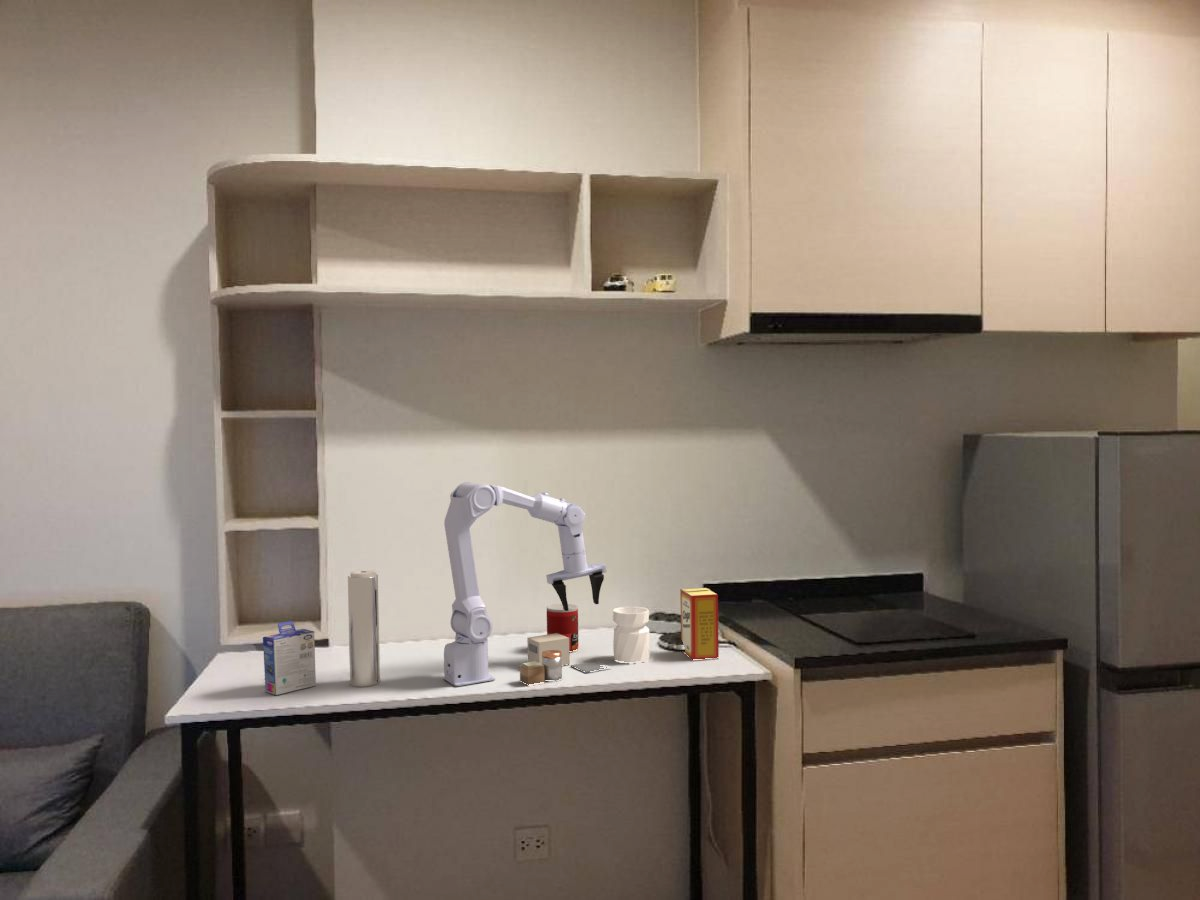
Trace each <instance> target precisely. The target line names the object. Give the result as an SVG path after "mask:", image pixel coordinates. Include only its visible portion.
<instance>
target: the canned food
mask: <svg viewBox="0 0 1200 900" xmlns="http://www.w3.org/2000/svg"><path fill="white" fill-rule="evenodd" d="M568 610H569V611H565V610H564V609H563V605H562V603H556V604H550V605H548V606H547V607H546V635H548V634H555V633H558V634H560V635H563V636H566V637H568V638H569V651H573V650H576V649H579V607H578V605H575V604H571V603H568Z"/></svg>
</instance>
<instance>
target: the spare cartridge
mask: <svg viewBox="0 0 1200 900" xmlns="http://www.w3.org/2000/svg"><path fill="white" fill-rule="evenodd" d="M542 665H544V680H559V679H561V678H562V679H563V668H562V667H563V666H562V652H561V651H558V650H547V651H543V652H542Z"/></svg>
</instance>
